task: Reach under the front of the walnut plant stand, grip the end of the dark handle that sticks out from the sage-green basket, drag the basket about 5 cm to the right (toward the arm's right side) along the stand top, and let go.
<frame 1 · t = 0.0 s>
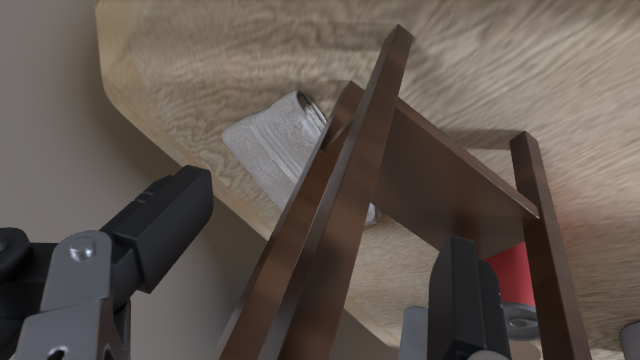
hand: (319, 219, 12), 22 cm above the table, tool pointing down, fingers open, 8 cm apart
planter: (419, 313, 56), on the table
stand: (436, 115, 33), on the table
beer can: (501, 218, 39), on the table
washcloth: (308, 166, 42), on the table
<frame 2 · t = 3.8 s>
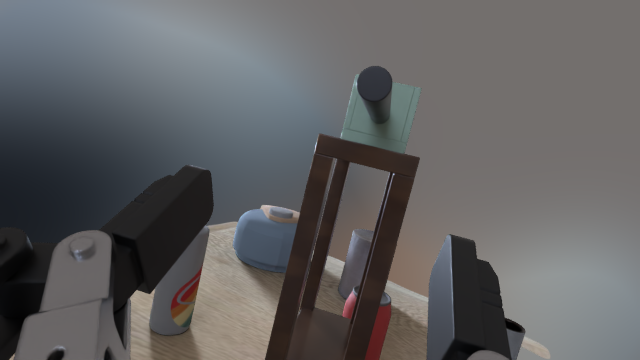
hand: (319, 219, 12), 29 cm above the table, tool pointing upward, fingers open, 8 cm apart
pillar candle: (359, 296, 79), on the table
alarm clock: (270, 257, 90), on the table
lotion bottle: (169, 326, 53), on the table
basket: (373, 146, 38), point 32 cm above the table, touching stand
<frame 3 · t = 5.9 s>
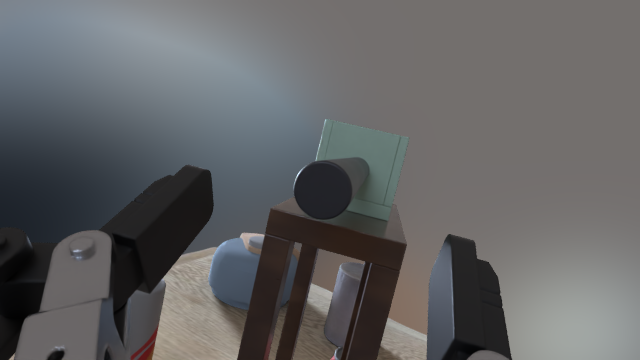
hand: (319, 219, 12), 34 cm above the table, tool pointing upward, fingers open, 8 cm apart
pillar candle: (347, 338, 72), on the table
alarm clock: (251, 291, 82), on the table
basket: (352, 201, 31), point 32 cm above the table, touching stand
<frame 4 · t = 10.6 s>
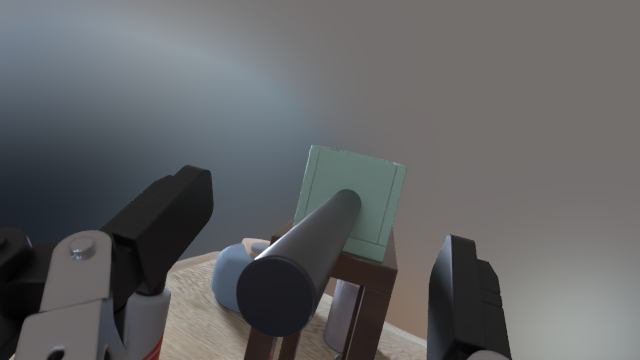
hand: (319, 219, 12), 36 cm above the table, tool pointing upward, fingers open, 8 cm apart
pillar candle: (346, 343, 73), on the table
alarm clock: (252, 296, 84), on the table
basket: (344, 232, 28), point 32 cm above the table, touching stand
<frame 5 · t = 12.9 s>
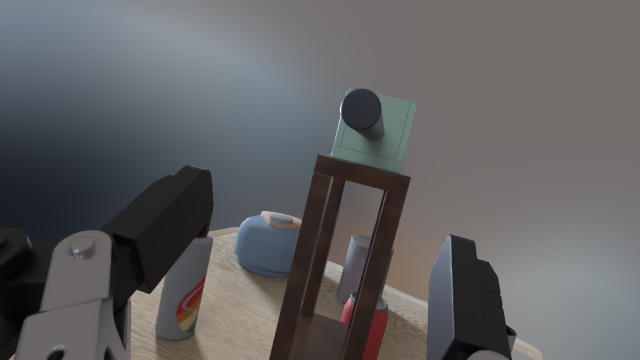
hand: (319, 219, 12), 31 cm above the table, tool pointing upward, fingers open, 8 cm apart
pillar candle: (357, 301, 81), on the table
alarm clock: (271, 262, 92), on the table
lotion bottle: (174, 331, 55), on the table
basket: (367, 163, 36), point 32 cm above the table, touching stand
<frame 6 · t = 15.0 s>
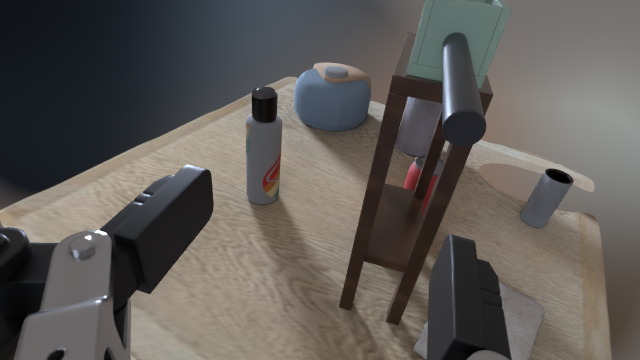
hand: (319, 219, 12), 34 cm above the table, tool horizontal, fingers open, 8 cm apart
planter: (531, 220, 68), on the table
pillar candle: (415, 147, 86), on the table
stand: (376, 271, 54), on the table
alarm clock: (330, 115, 96), on the table
lotion bottle: (262, 195, 66), on the table
basket: (442, 64, 34), point 32 cm above the table, touching stand
beer can: (412, 220, 65), on the table
washcloth: (478, 333, 48), on the table
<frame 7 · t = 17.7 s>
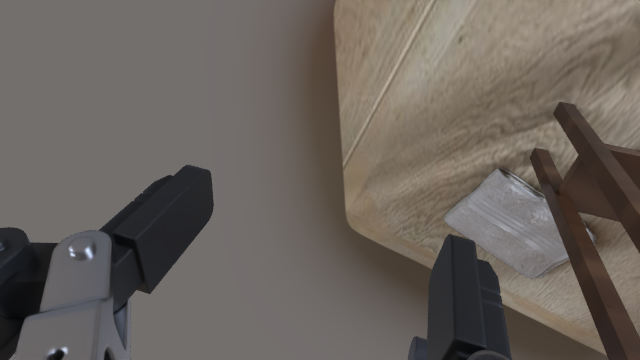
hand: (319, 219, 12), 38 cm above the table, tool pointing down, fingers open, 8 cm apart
stand: (612, 145, 44), on the table
washcloth: (515, 220, 54), on the table
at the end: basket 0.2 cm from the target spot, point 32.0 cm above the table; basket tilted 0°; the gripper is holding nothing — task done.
